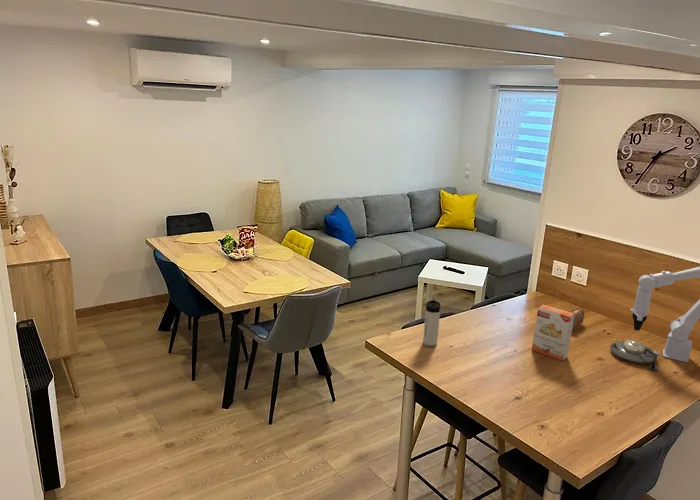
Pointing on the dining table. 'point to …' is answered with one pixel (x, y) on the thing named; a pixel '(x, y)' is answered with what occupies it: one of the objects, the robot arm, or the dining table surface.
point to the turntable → (618, 351)
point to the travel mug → (431, 323)
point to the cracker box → (553, 332)
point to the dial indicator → (655, 353)
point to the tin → (578, 318)
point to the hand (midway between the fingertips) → (636, 329)
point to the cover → (633, 347)
